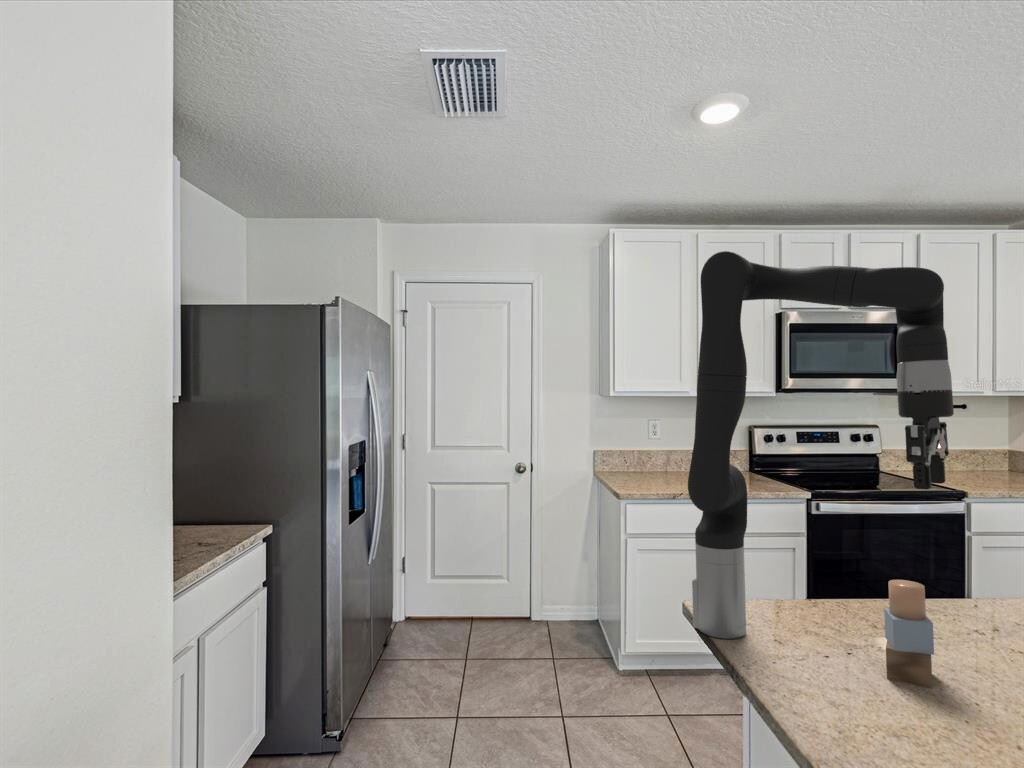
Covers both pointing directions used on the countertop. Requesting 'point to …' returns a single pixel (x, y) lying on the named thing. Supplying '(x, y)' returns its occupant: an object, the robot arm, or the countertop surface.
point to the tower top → (909, 634)
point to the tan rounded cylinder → (907, 599)
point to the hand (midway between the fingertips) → (930, 485)
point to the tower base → (909, 667)
